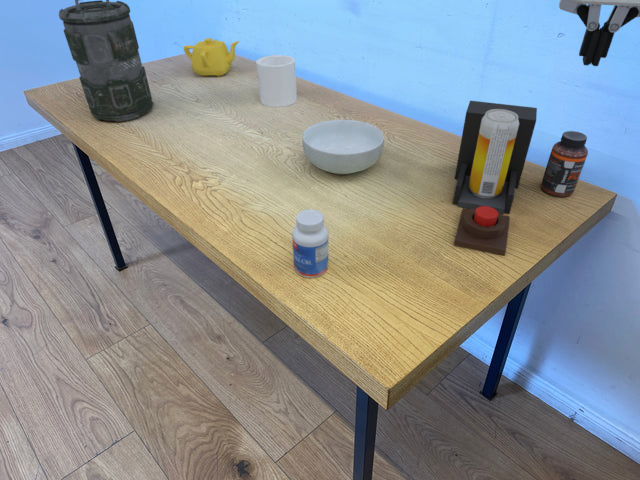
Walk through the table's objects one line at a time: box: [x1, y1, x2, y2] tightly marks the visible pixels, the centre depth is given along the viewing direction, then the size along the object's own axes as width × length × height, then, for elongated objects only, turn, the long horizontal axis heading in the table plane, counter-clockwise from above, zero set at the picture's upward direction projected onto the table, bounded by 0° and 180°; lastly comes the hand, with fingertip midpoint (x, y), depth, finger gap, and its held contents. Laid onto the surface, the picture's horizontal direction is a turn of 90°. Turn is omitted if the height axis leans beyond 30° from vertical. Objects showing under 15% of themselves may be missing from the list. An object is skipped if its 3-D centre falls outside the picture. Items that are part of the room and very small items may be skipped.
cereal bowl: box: [301, 119, 385, 175], centre depth 98 cm, size 17×17×7 cm
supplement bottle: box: [540, 130, 589, 198], centre depth 87 cm, size 6×6×11 cm
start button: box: [474, 206, 498, 227], centre depth 78 cm, size 4×4×2 cm
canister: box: [58, 0, 154, 123], centre depth 118 cm, size 16×16×28 cm
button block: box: [453, 207, 511, 256], centre depth 79 cm, size 8×10×3 cm
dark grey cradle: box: [452, 100, 538, 215], centre depth 87 cm, size 12×16×14 cm
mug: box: [256, 54, 298, 108], centre depth 128 cm, size 14×10×11 cm
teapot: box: [183, 37, 240, 77], centre depth 147 cm, size 14×13×10 cm
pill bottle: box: [291, 208, 330, 279], centre depth 71 cm, size 6×5×10 cm
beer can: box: [469, 109, 519, 198], centre depth 84 cm, size 6×6×15 cm
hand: (590, 62), depth 60 cm, fingers closed
